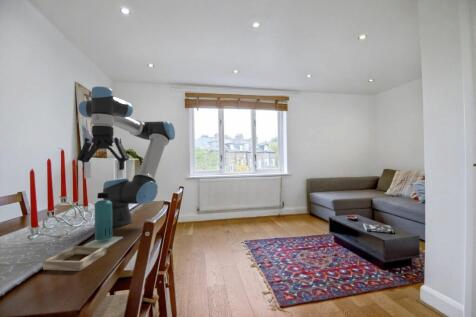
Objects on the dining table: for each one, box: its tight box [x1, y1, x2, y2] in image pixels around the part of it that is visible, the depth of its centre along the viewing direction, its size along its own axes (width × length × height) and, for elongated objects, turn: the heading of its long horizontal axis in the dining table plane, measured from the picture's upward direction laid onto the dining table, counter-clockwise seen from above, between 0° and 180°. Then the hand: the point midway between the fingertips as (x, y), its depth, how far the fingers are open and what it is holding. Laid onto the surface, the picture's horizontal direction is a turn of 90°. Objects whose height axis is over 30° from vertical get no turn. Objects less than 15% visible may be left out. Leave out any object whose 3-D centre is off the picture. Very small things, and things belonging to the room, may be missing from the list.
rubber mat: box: [83, 236, 124, 249], centre depth 89 cm, size 11×10×1 cm
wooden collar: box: [42, 245, 107, 272], centre depth 73 cm, size 12×12×2 cm
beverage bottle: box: [93, 191, 114, 241], centre depth 89 cm, size 6×7×20 cm
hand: (103, 178), depth 89 cm, fingers open, 13 cm apart
